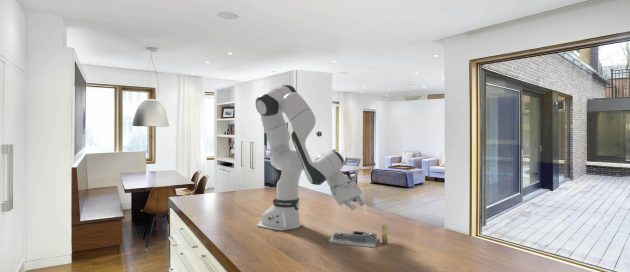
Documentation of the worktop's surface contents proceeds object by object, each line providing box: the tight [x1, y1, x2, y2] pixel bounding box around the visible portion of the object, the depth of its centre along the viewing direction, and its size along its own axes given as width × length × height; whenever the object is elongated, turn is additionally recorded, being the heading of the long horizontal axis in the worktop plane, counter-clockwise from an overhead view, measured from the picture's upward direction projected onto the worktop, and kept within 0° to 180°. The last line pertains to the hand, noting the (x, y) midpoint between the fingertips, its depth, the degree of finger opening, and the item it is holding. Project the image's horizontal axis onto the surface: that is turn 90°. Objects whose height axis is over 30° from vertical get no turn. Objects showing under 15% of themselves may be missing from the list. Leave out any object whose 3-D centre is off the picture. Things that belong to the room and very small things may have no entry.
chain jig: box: [328, 230, 379, 248], centre depth 150 cm, size 20×12×4 cm, turn 73°
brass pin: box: [381, 224, 389, 246], centre depth 146 cm, size 2×2×8 cm
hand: (358, 207), depth 152 cm, fingers open, 8 cm apart
